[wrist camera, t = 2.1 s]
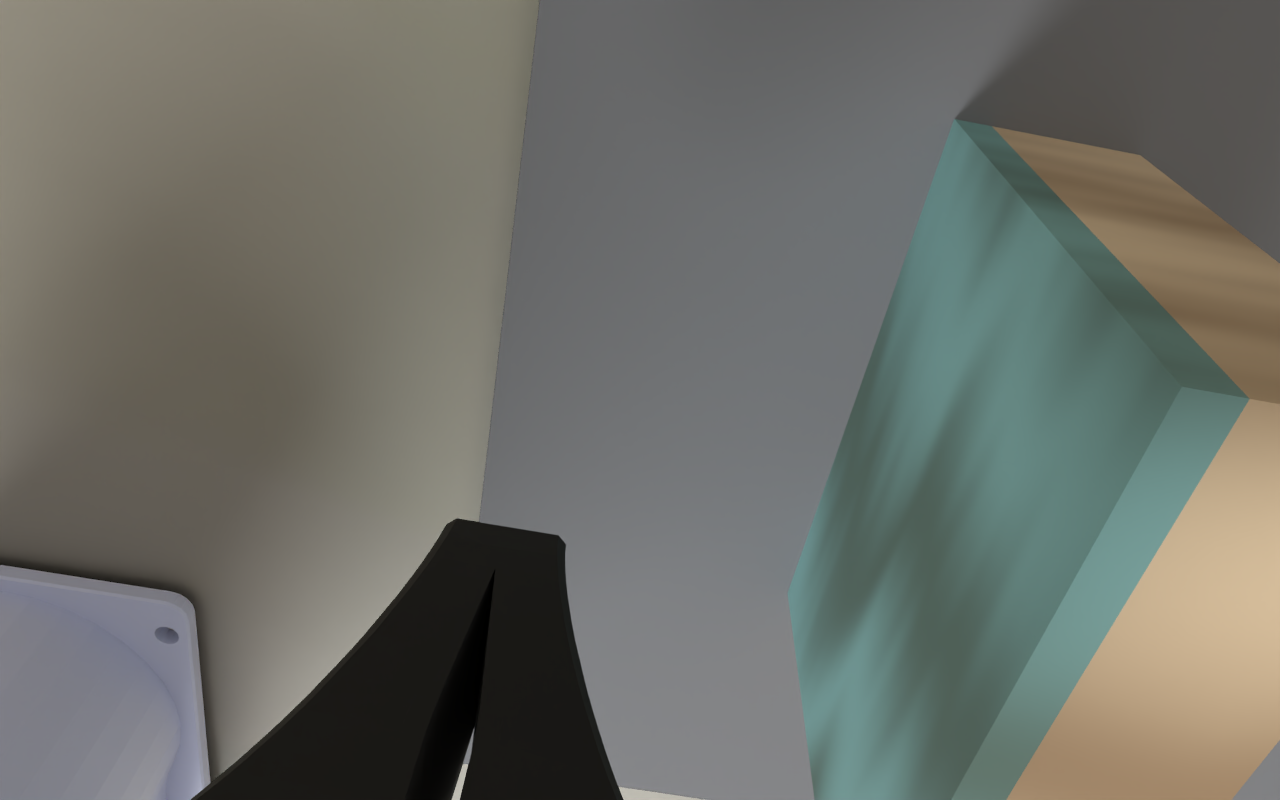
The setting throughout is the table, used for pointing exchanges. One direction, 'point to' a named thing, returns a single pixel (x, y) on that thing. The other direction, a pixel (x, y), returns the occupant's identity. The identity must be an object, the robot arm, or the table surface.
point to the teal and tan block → (1053, 498)
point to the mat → (780, 300)
